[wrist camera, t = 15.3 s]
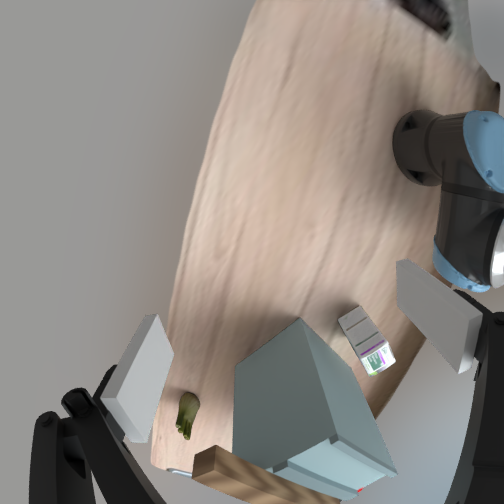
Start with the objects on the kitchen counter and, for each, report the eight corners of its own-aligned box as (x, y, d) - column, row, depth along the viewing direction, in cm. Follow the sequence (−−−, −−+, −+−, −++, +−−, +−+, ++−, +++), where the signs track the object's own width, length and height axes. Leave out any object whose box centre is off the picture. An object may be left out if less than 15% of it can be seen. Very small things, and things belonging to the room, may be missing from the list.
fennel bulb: (180, 388, 64) (172, 424, 53) (201, 391, 65) (195, 428, 53) (180, 404, 66) (172, 439, 55) (200, 407, 66) (194, 443, 55)
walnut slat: (194, 454, 31) (191, 478, 27) (216, 444, 30) (214, 470, 27) (320, 506, 38) (323, 523, 34) (338, 498, 37) (342, 515, 33)
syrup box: (336, 318, 60) (358, 360, 46) (360, 304, 59) (388, 342, 45) (347, 337, 61) (369, 379, 47) (370, 322, 60) (397, 362, 46)
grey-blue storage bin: (299, 317, 59) (339, 440, 29) (351, 368, 64) (397, 474, 34) (235, 365, 62) (231, 489, 33) (291, 408, 67) (310, 515, 37)
